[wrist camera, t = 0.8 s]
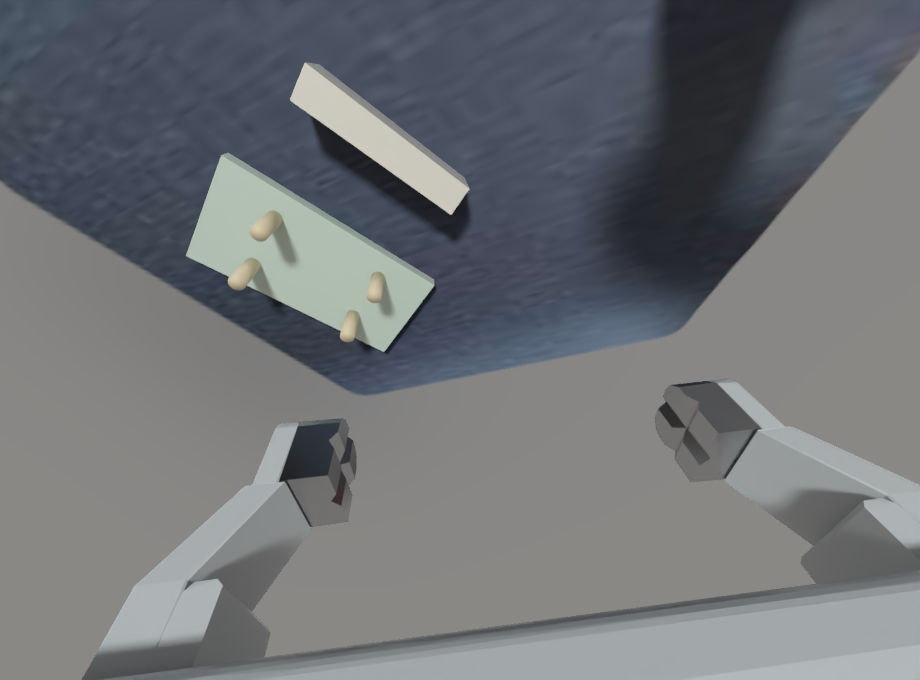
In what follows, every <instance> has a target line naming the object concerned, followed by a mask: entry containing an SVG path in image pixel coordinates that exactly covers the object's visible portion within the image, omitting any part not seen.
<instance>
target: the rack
mask: <svg viewBox="0 0 920 680" xmlns="http://www.w3.org/2000/svg"><path fill="white" fill-rule="evenodd" d="M186 256H187V257H189V258H191V259H193V260H195V261H197V262H200V263H202V264H204V265H206V266H208V267H210V268H212V269H214V270H216V271H218V272H220V273H222V274H224V275H226V276H228V277H229V279H228V284H229V285H230V287H232V288H233V289H235V290H243V289H244V288H245V287H246V285H247V286H249V287H251V288H253V289H255V290H257V291H259V292H261V293H263V294H265V295H267V296H270V297H272V298H274V299H276V300H278V301H280V302H282V303H284V304H286V305H288V306H290V307H292V308H294V309H296V310H298V311H300V312H302V313H305V314H307V315H309V316H311V317H313V318H315V319H317V320H319V321H321V322H323V323H325V324H327V325H329V326H331V327H333V328H335V329H337V330H340V331H341V333H340V338H341V340H343V341H344V342H351V341H353V340H354V338H356V339H358V340H360V341H362V342H364V343H366V344H368V345H370V346H372V347H375V348H377V349H379V350H381V351H383V352H384V351H385V350H386V349H387V347H388V346H389V345H390V343H391V342H392V341H393V340H394V338H395V337H396V336H397V334H398V333H399V332H400V330H401V329H402V328H403V326H404V325H405V324H406V322H407V321H408V320H409V318H410V317H411V316H412V314H413V313H414V312H415V310H416V309H417V308H418V307H419V305H420V304H421V303H422V301H423V300H424V299H425V297H426V296H427V295H428V293H429V292H430V291H431V289H432V288H433V287H434V285H435V284H434V279H432V278H431V277H429V276H427V275H426V274H424V273H422V272H421V271H419V270H418V269H416V268H414V267H413V266H411V265H409V264H408V263H406V262H405V261H403V260H401V259H400V258H398V257H397V256H395V255H393V254H392V253H390V252H388V251H387V250H385V249H384V248H382V247H380V246H379V245H377V244H375V243H374V242H372V241H371V240H369V239H367V238H366V237H364V236H362V235H361V234H359V233H358V232H356V231H354V230H353V229H351V228H350V227H348V226H346V225H345V224H343V223H341V222H340V221H338V220H337V219H335V218H333V217H332V216H330V215H328V214H327V213H325V212H324V211H322V210H320V209H319V208H317V207H315V206H314V205H312V204H311V203H309V202H307V201H306V200H304V199H303V198H301V197H299V196H298V195H296V194H294V193H293V192H291V191H290V190H288V189H286V188H285V187H283V186H281V185H280V184H278V183H277V182H275V181H273V180H272V179H270V178H268V177H267V176H265V175H264V174H262V173H260V172H259V171H257V170H256V169H254V168H252V167H251V166H249V165H247V164H246V163H244V162H243V161H241V160H239V159H238V158H236V157H234V156H233V155H231V154H230V153H226V154H223V155H221V158H220V160H219V163H218V166H217V169H216V172H215V175H214V177H213V180H212V183H211V186H210V189H209V192H208V195H207V197H206V200H205V203H204V206H203V209H202V212H201V215H200V217H199V220H198V223H197V226H196V229H195V232H194V234H193V237H192V240H191V243H190V246H189V249H188V252H187V254H186Z"/></svg>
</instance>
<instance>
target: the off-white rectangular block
mask: <svg viewBox="0 0 920 680" xmlns="http://www.w3.org/2000/svg"><path fill="white" fill-rule="evenodd" d="M290 101H292V102H293V103H295V104H296V105H297V106H299V107H300V108H302V109H303V110H304V111H306V112H307V113H309V114H310V115H311V116H313V117H314V118H316V119H317V120H318V121H320V122H321V123H323V124H324V125H325V126H327V127H328V128H330V129H331V130H332V131H334V132H335V133H337V134H338V135H339V136H341V137H342V138H344V139H345V140H346V141H348V142H349V143H351V144H352V145H353V146H355V147H356V148H358V149H359V150H360V151H362V152H363V153H365V154H366V155H367V156H369V157H370V158H372V159H373V160H374V161H376V162H377V163H379V164H380V165H381V166H383V167H384V168H386V169H387V170H388V171H390V172H391V173H393V174H394V175H395V176H397V177H398V178H400V179H401V180H402V181H404V182H405V183H407V184H408V185H409V186H411V187H412V188H414V189H415V190H417V191H418V192H419V193H421V194H422V195H424V196H425V197H426V198H428V199H429V200H431V201H432V202H433V203H435V204H436V205H438V206H439V207H440V208H442V209H443V210H445V211H446V212H447V213H449V214H450V215H452V213H453V212H454V210H455V209H456V208H457V206H458V205H459V203H460V202H461V200H462V199H463V198H464V196H465V195H466V193H467V192H468V190H469V187H468V184H467V182H466V180H465V178H464V177H463V176H462V175H460V174H459V173H458V172H456V171H455V170H454V169H453V168H451V167H450V166H449V165H447V164H446V163H445V162H444V161H442V160H441V159H440V158H438V157H437V156H436V155H435V154H433V153H432V152H431V151H430V150H428V149H427V148H426V147H424V146H423V145H422V144H421V143H419V142H418V141H417V140H415V139H414V138H413V137H412V136H410V135H409V134H408V133H406V132H405V131H404V130H403V129H401V128H400V127H399V126H397V125H396V124H395V123H394V122H392V121H391V120H390V119H388V118H387V117H386V116H385V115H383V114H382V113H381V112H379V111H378V110H377V109H376V108H374V107H373V106H372V105H370V104H369V103H368V102H367V101H365V100H364V99H363V98H361V97H360V96H359V95H358V94H356V93H355V92H354V91H352V90H351V89H350V88H349V87H347V86H346V85H345V84H343V83H342V82H341V81H340V80H338V79H337V78H336V77H335V76H333V75H332V74H331V73H329V72H328V71H327V70H326V69H324V68H323V67H322V66H320V65H319V64H313V63H306V62H305V64H304V66H303V69H302V71H301V73H300V76H299V78H298V81H297V83H296V86H295V88H294V91H293V93H292V96H291V98H290Z"/></svg>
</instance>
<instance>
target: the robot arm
mask: <svg viewBox="0 0 920 680" xmlns="http://www.w3.org/2000/svg"><path fill="white" fill-rule="evenodd" d="M663 397H664V399H665V401H666V402H665V404H663V405H662V406H661V407H660V408H659V409H658V410H657V414H656V417H655V422H656V429H657V432H658V434H659V436H660V438H661V440H662V441H663V442H664V444H665V445H667V446H668V447H670V448H672V449H673V450H675V460H676V462H677V463H678V465H679V466H680V467H681V469H682V470H683V472H684V473H685V475H686V476H687V478H688V479H689V480H690V482H698V481H709V480H721V479H725V482H726V483H728V484H729V485H731V486H732V487H734V488H735V489H736V490H737V491H739V492H740V493H742V494H743V495H744V496H746V497H747V498H748V499H750V500H751V501H753V502H754V503H755V504H757V505H758V506H760V507H761V508H762V509H764V510H765V511H767V512H768V513H769V514H771V515H772V516H773V517H775V518H776V519H777V520H779V521H780V522H782V523H783V524H784V525H786V526H787V527H788V528H790V529H791V530H793V531H794V532H795V533H797V534H798V535H800V536H801V537H802V538H804V539H805V540H806V541H808V542H809V543H810V544H812V545H813V547H812V548H811V549H810V550H809V551H808V552H807V553H806V554H804V555H803V556H802V558H801V564H802V566H803V567H804V569H805V570H806V571H807V572H808V574H809V575H810V576H811V577H812V579H813V580H814V581H815V583H816V584H810V585H803V586H795V587H788V588H781V589H773V590H765V591H758V592H751V593H743V594H736V595H729V596H721V597H714V598H705V599H698V600H691V601H683V602H676V603H669V604H661V605H654V606H646V607H639V608H631V609H624V610H616V611H608V612H601V613H593V614H586V615H578V616H571V617H563V618H556V619H549V620H541V621H533V622H526V623H519V624H511V625H503V626H496V627H488V628H481V629H473V630H466V631H458V632H451V633H444V634H436V635H428V636H422V637H414V638H406V639H398V640H391V641H384V642H376V643H369V644H361V645H354V646H346V647H339V648H331V649H324V650H316V651H309V652H301V653H294V654H287V655H279V656H271V657H264V656H265V653H266V648H267V644H268V641H269V637H270V632H269V630H268V628H267V626H266V625H265V624H264V623H263V622H262V621H261V620H260V619H258V618H257V616H255V615H254V614H253V613H252V611H253V609H254V608H255V606H256V605H257V604H258V602H259V601H260V600H261V598H262V597H263V595H264V594H265V592H266V591H267V590H268V589H269V587H270V586H271V584H272V583H273V582H274V580H275V579H276V577H277V576H278V574H279V573H280V572H281V570H282V569H283V567H284V566H285V565H286V564H287V562H288V561H289V559H290V558H291V556H292V555H293V554H294V552H295V551H296V550H297V548H298V547H299V546H300V544H301V543H302V541H303V540H304V539H305V537H306V535H307V534H308V533H309V532H310V530H311V528H310V527H314V526H321V525H329V524H335V523H342V522H348V517H349V512H350V506H351V499H352V493H351V491H350V488H349V484H350V483H351V482H352V481H353V480H354V479H355V474H356V450H355V445H354V442H353V440H351V439H350V438H348V431H349V427H348V424H347V422H346V420H345V419H330V420H317V421H304V422H296V423H283V424H280V425H279V426H278V427H277V428H276V429H275V431H274V433H273V436H272V438H271V441H270V443H269V446H268V448H267V450H266V453H265V455H264V458H263V460H262V462H261V465H260V467H259V470H258V472H257V475H256V477H255V480H254V482H253V484H252V485H247V486H245V487H243V488H242V489H241V490H240V491H239V492H238V493H237V494H236V495H235V496H234V497H232V498H231V499H230V500H229V501H228V502H227V503H226V504H225V505H224V506H223V507H222V508H221V509H219V510H218V511H217V512H216V513H215V514H214V515H213V516H212V517H210V518H209V519H208V520H207V521H206V522H205V523H204V524H203V525H202V526H200V527H199V528H198V529H197V530H196V531H195V532H194V533H193V534H192V535H191V536H190V537H188V538H187V539H186V540H185V541H184V542H183V543H182V544H181V545H180V546H178V547H177V548H176V549H175V550H174V551H173V552H172V553H171V554H170V555H169V556H167V557H166V558H165V559H164V560H163V561H162V562H161V563H160V564H159V565H157V566H156V567H155V568H154V569H153V570H152V571H151V572H150V573H149V574H148V575H146V576H145V577H144V578H143V579H142V580H141V581H140V582H139V583H138V584H137V585H135V586H134V588H133V590H132V591H131V593H130V595H129V597H128V599H127V600H126V602H125V604H124V606H123V607H122V609H121V611H120V613H119V614H118V616H117V618H116V620H115V622H114V623H113V625H112V627H111V629H110V631H109V632H108V634H107V636H106V638H105V639H104V641H103V643H102V645H101V647H100V648H99V650H98V652H97V653H96V655H95V657H94V659H93V661H92V662H91V664H90V666H89V668H88V669H87V671H86V673H85V675H84V677H83V678H82V680H920V485H918V484H916V483H914V482H912V481H909V480H907V479H905V478H903V477H901V476H899V475H896V474H894V473H892V472H890V471H888V470H885V469H883V468H881V467H879V466H877V465H874V464H872V463H870V462H868V461H866V460H864V459H861V458H859V457H857V456H855V455H853V454H851V453H848V452H846V451H844V450H842V449H840V448H837V447H835V446H833V445H831V444H829V443H826V442H824V441H822V440H820V439H818V438H816V437H813V436H811V435H809V434H807V433H805V432H802V431H800V430H798V429H796V428H794V427H792V426H791V427H785V426H784V425H783V424H781V423H780V422H779V421H778V420H777V419H776V418H775V417H774V416H773V415H772V414H771V413H770V412H768V411H767V410H766V409H765V408H764V407H763V406H762V405H761V404H760V403H759V402H758V401H757V400H756V399H755V398H754V397H753V396H751V395H750V394H749V393H748V392H747V391H746V390H745V389H744V388H743V387H742V386H741V385H740V384H739V383H737V382H736V381H734V380H731V379H723V380H713V381H703V382H694V383H686V384H677V385H670V386H669V387H668V388H667V389H666V390H665V393H664V395H663Z"/></svg>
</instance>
